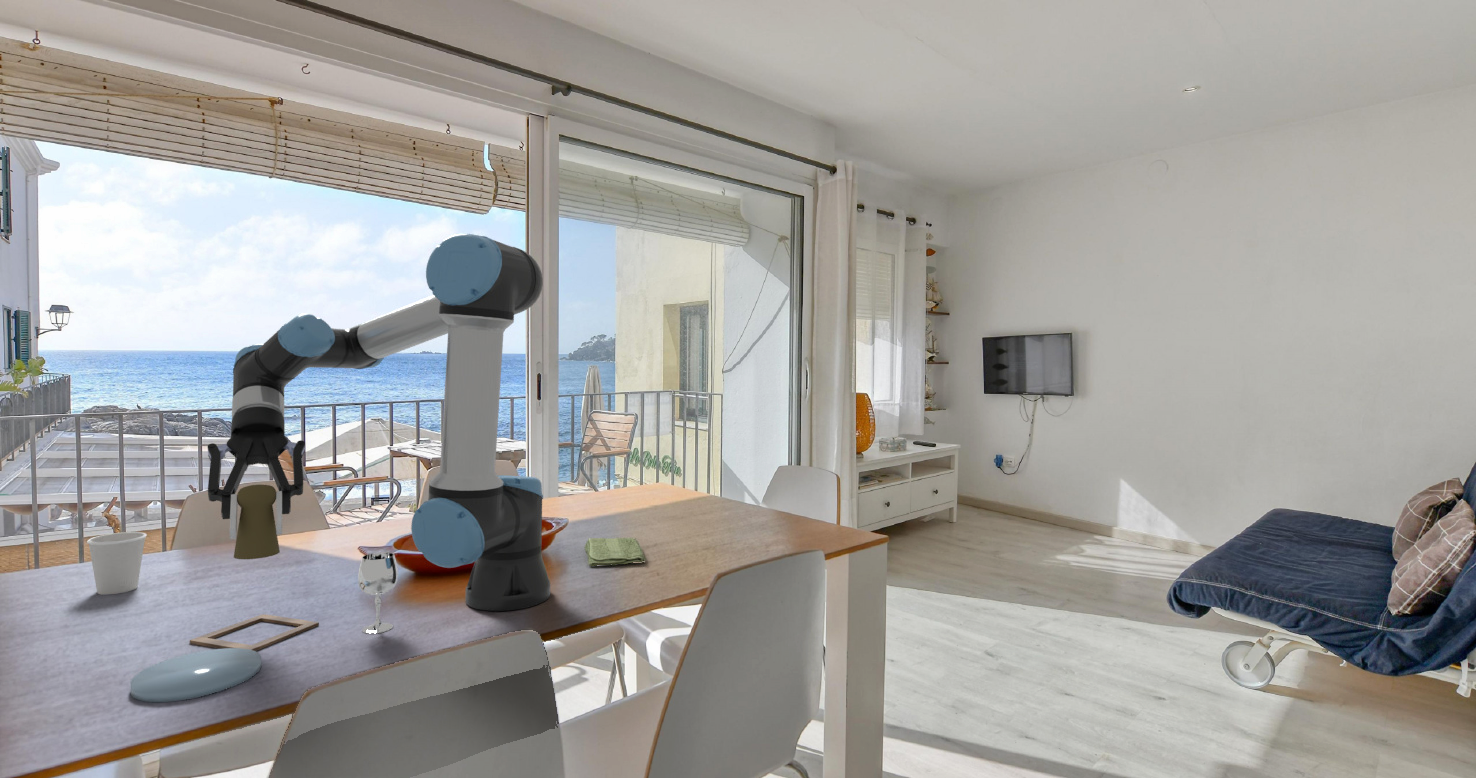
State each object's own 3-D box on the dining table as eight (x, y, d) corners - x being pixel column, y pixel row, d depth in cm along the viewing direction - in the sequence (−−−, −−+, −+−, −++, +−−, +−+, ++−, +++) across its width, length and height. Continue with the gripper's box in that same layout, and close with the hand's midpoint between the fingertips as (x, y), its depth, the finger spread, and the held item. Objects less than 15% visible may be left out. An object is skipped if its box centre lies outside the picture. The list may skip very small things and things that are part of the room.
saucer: (285, 663, 99) (285, 655, 99) (182, 709, 85) (182, 699, 85) (212, 650, 102) (212, 642, 102) (103, 692, 89) (103, 683, 89)
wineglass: (387, 619, 116) (388, 549, 116) (403, 627, 113) (404, 555, 113) (351, 628, 112) (352, 556, 112) (366, 638, 108) (367, 562, 108)
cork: (256, 560, 105) (255, 489, 105) (223, 557, 106) (223, 487, 106) (289, 550, 111) (289, 483, 111) (257, 548, 112) (257, 481, 112)
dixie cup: (156, 586, 131) (156, 534, 131) (101, 599, 123) (100, 544, 123) (132, 580, 134) (132, 529, 134) (77, 592, 127) (77, 538, 127)
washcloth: (587, 570, 149) (587, 555, 149) (583, 549, 166) (584, 536, 166) (647, 567, 152) (648, 552, 152) (638, 546, 169) (638, 534, 169)
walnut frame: (319, 625, 113) (319, 622, 113) (249, 653, 102) (249, 650, 102) (263, 616, 117) (263, 613, 117) (189, 643, 105) (189, 639, 105)
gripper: (319, 430, 126) (324, 538, 113) (193, 434, 116) (182, 553, 103) (320, 403, 122) (326, 512, 108) (190, 404, 111) (178, 524, 98)
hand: (256, 531), depth 106 cm, fingers closed on cork, 5 cm apart
